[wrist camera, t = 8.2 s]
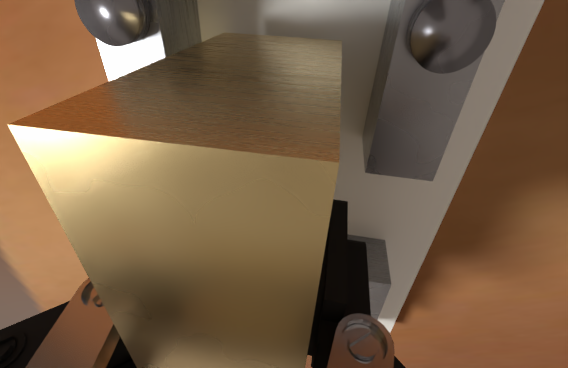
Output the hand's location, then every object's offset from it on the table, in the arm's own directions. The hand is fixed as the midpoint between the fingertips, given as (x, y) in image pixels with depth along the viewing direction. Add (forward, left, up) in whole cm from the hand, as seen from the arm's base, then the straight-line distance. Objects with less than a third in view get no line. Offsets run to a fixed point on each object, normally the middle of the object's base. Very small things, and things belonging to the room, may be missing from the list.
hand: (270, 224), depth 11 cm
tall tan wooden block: (0, 0, -2) cm, 2 cm away
